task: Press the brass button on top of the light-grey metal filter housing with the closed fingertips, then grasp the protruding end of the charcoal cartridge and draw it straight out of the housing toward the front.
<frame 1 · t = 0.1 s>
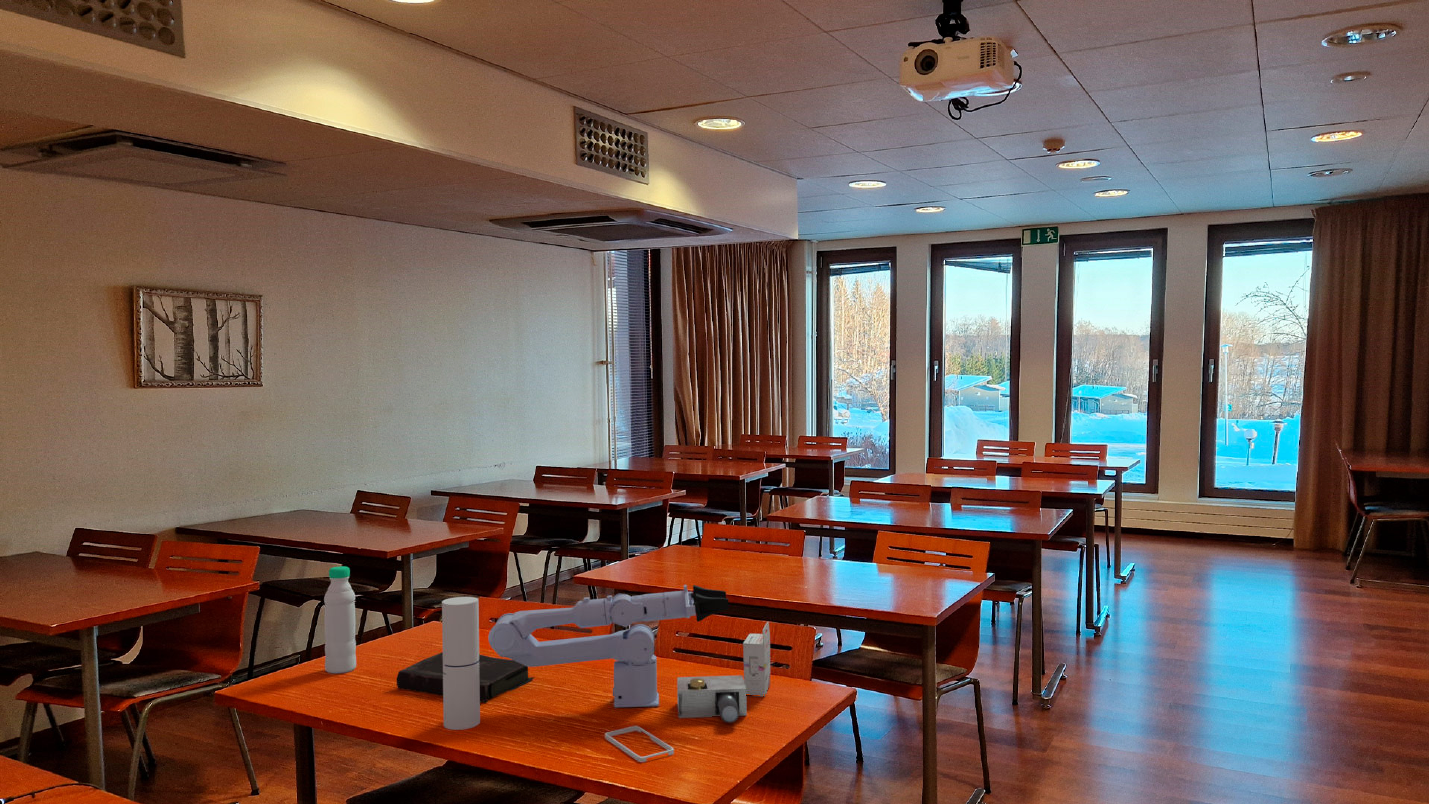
hand: (727, 599, 203), 22 cm above the table, tool horizontal, fingers open, 7 cm apart
diary: (467, 687, 216), on the table
water bottle: (340, 670, 227), on the table
cartridge: (727, 703, 192), point 3 cm above the table, slide at 0.0 cm
cylindrical container: (461, 724, 190), on the table
housing: (711, 709, 197), on the table
ink cartridge box: (757, 691, 209), on the table
phone case: (638, 749, 177), on the table
plunger: (697, 684, 195), point 6 cm above the table, slide at 0.0 cm
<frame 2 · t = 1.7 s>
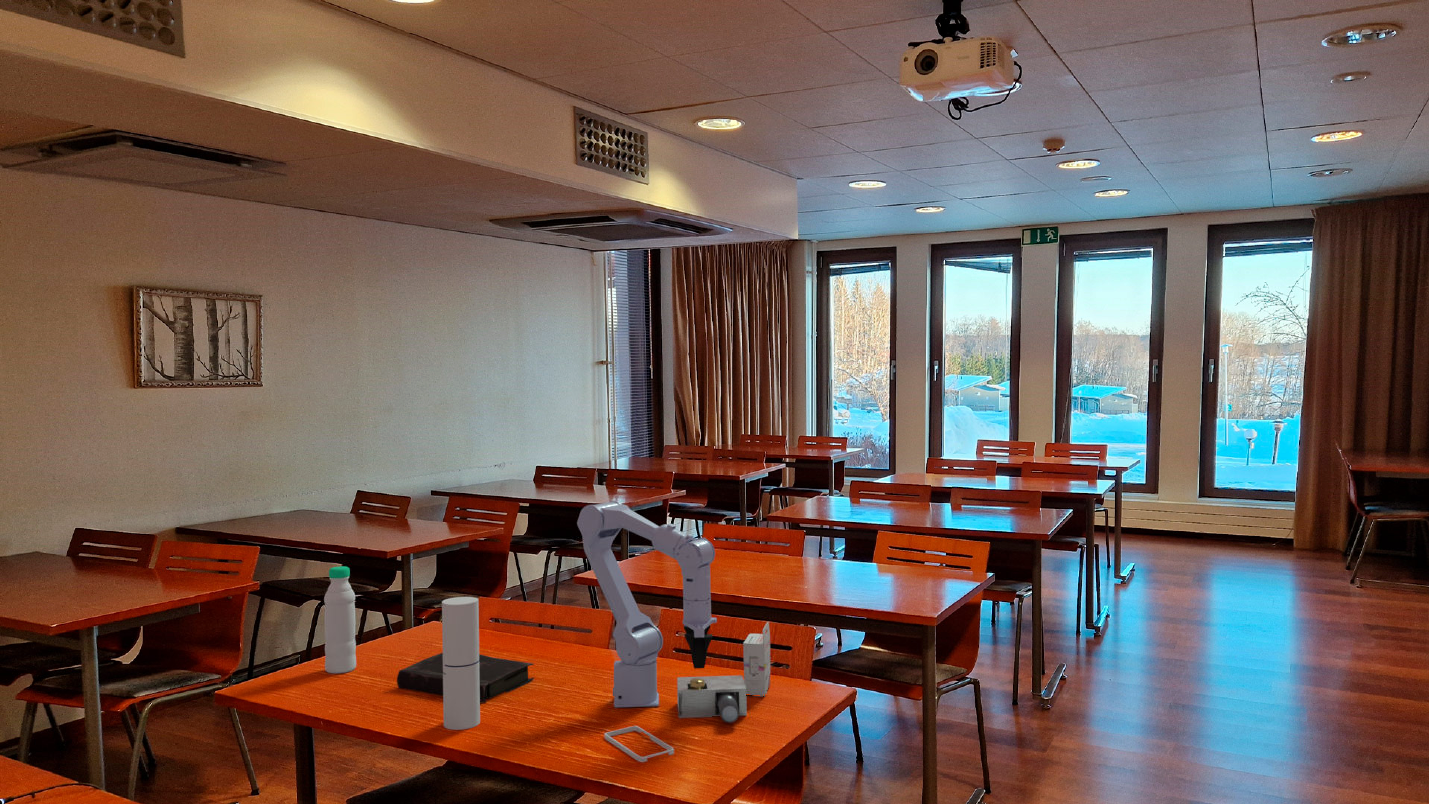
hand: (698, 663, 194), 10 cm above the table, tool pointing down, fingers open, 6 cm apart
nothing on the table moved.
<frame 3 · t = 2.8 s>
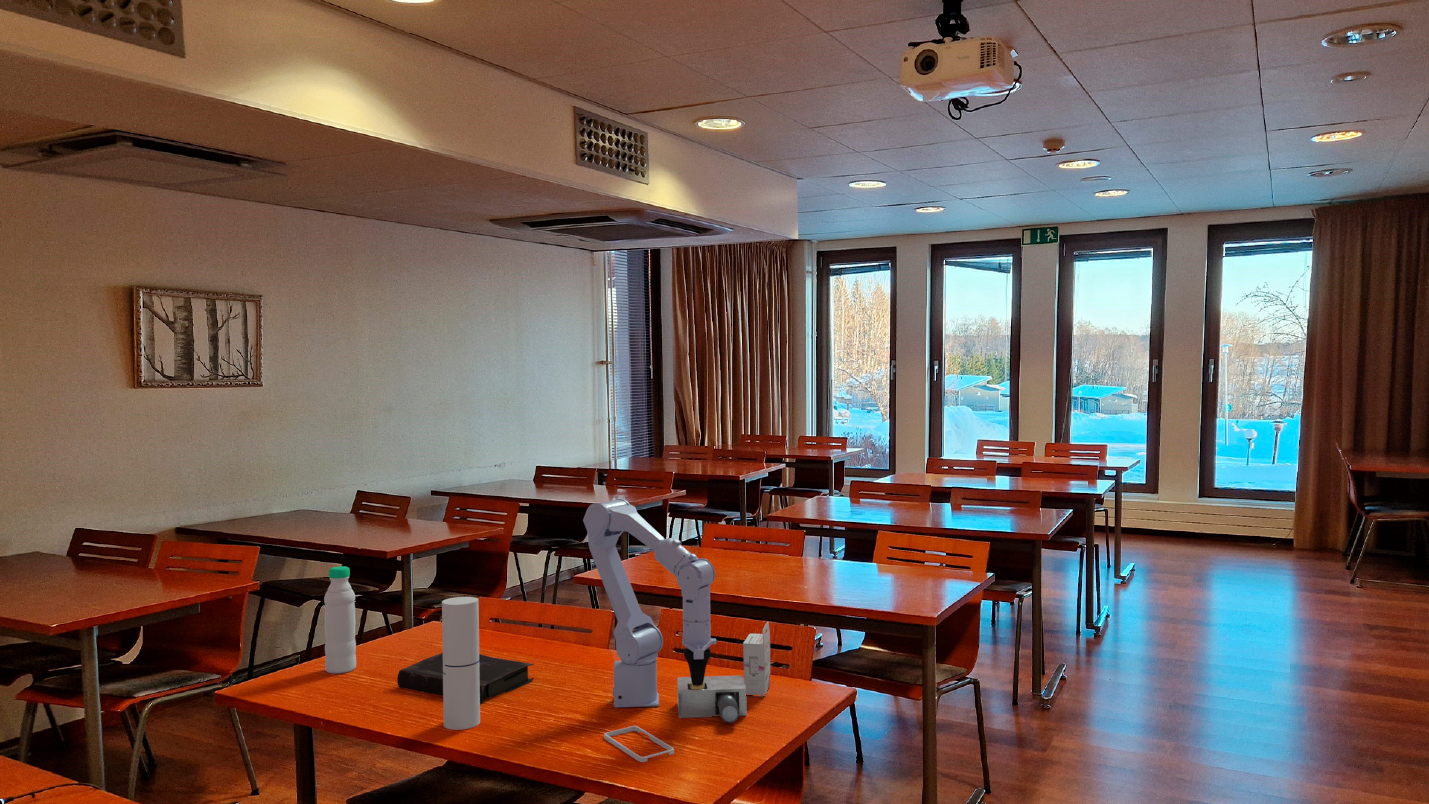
hand: (697, 684, 194), 6 cm above the table, tool pointing down, fingers closed, pressing on plunger
plunger: (697, 688, 195), point 5 cm above the table, slide at 0.7 cm, touching gripper
everything else where it was.
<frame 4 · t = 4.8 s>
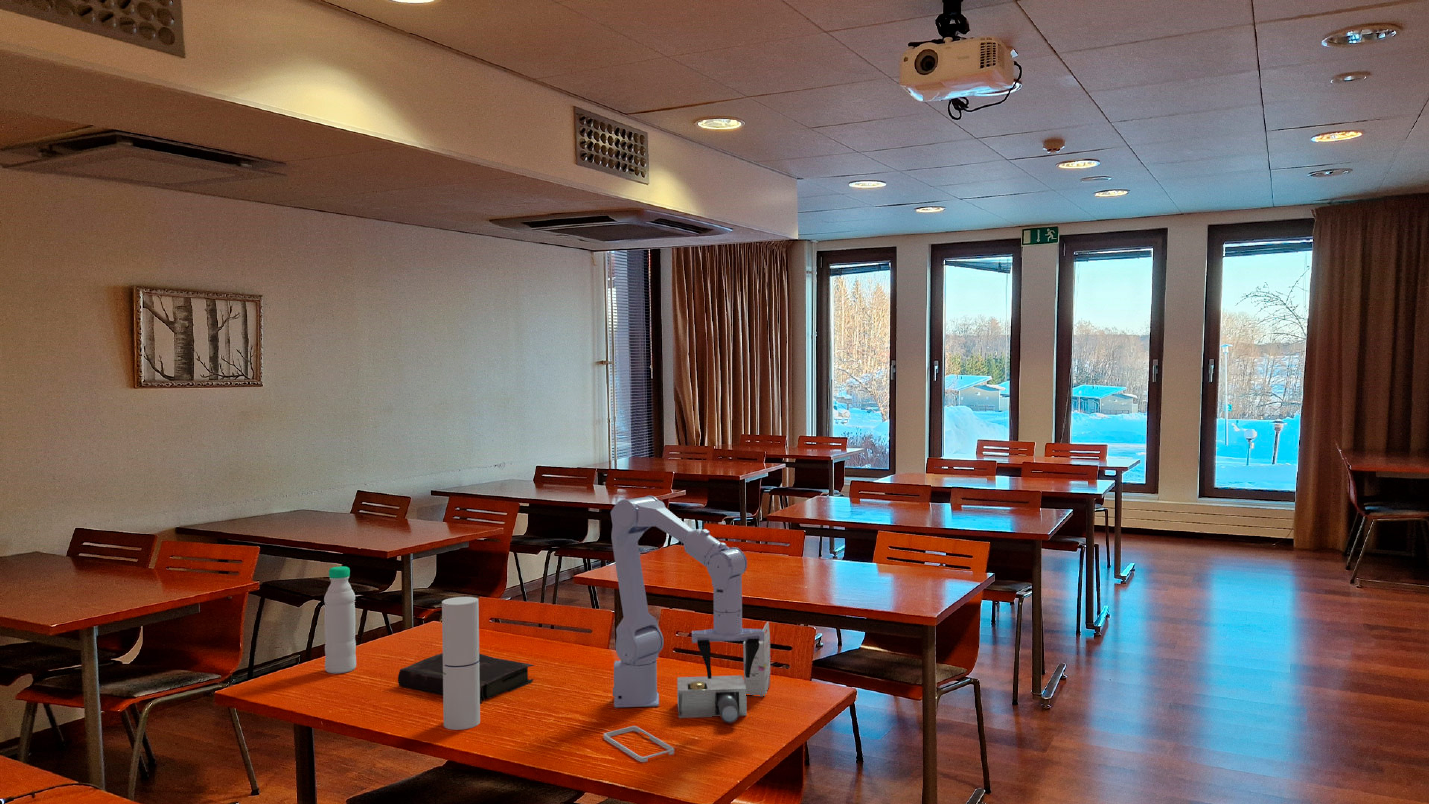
hand: (728, 676, 188), 9 cm above the table, tool pointing down, fingers open, 7 cm apart
plunger: (697, 687, 195), point 5 cm above the table, slide at 0.6 cm
everything else where it was.
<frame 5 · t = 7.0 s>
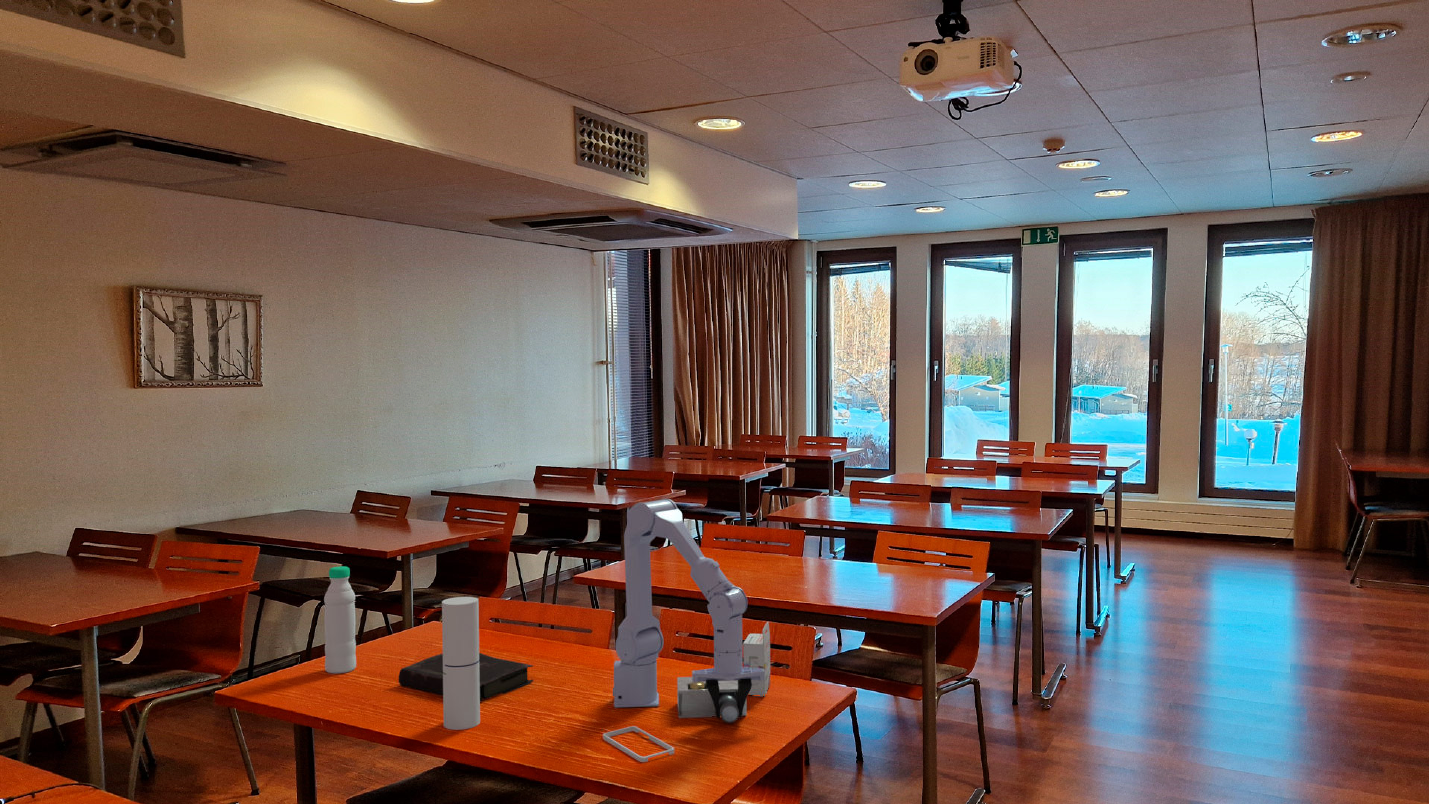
hand: (728, 716, 188), 1 cm above the table, tool pointing down, fingers closed on cartridge, 4 cm apart
cartridge: (727, 703, 192), point 3 cm above the table, slide at 0.0 cm, touching gripper
everything else where it was.
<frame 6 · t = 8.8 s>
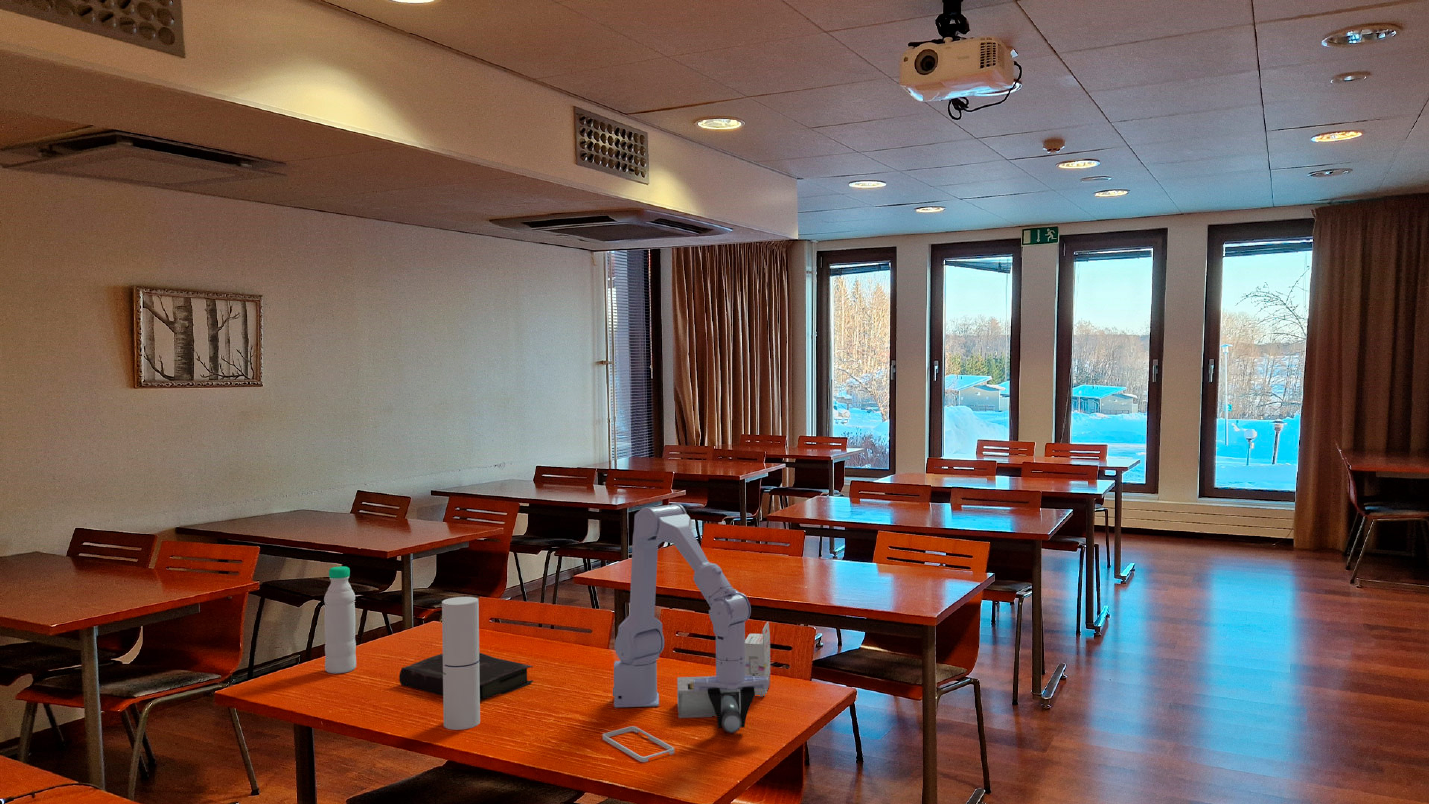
hand: (731, 726, 183), 1 cm above the table, tool pointing down, fingers closed on cartridge, 4 cm apart
cartridge: (729, 712, 187), point 3 cm above the table, slide at 5.5 cm, touching gripper
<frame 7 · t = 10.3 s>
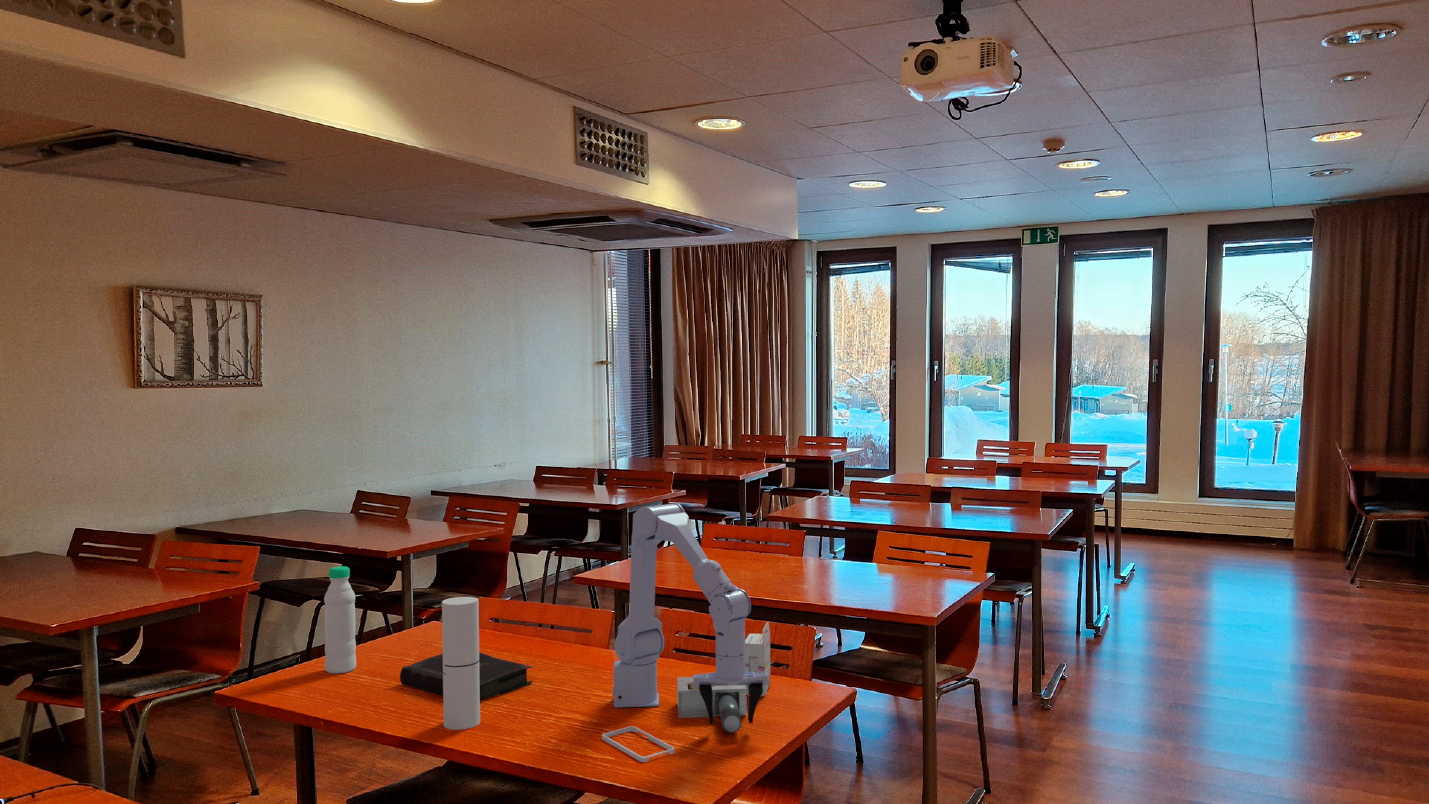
hand: (730, 722, 183), 2 cm above the table, tool pointing down, fingers open, 7 cm apart
cartridge: (729, 712, 187), point 3 cm above the table, slide at 5.5 cm
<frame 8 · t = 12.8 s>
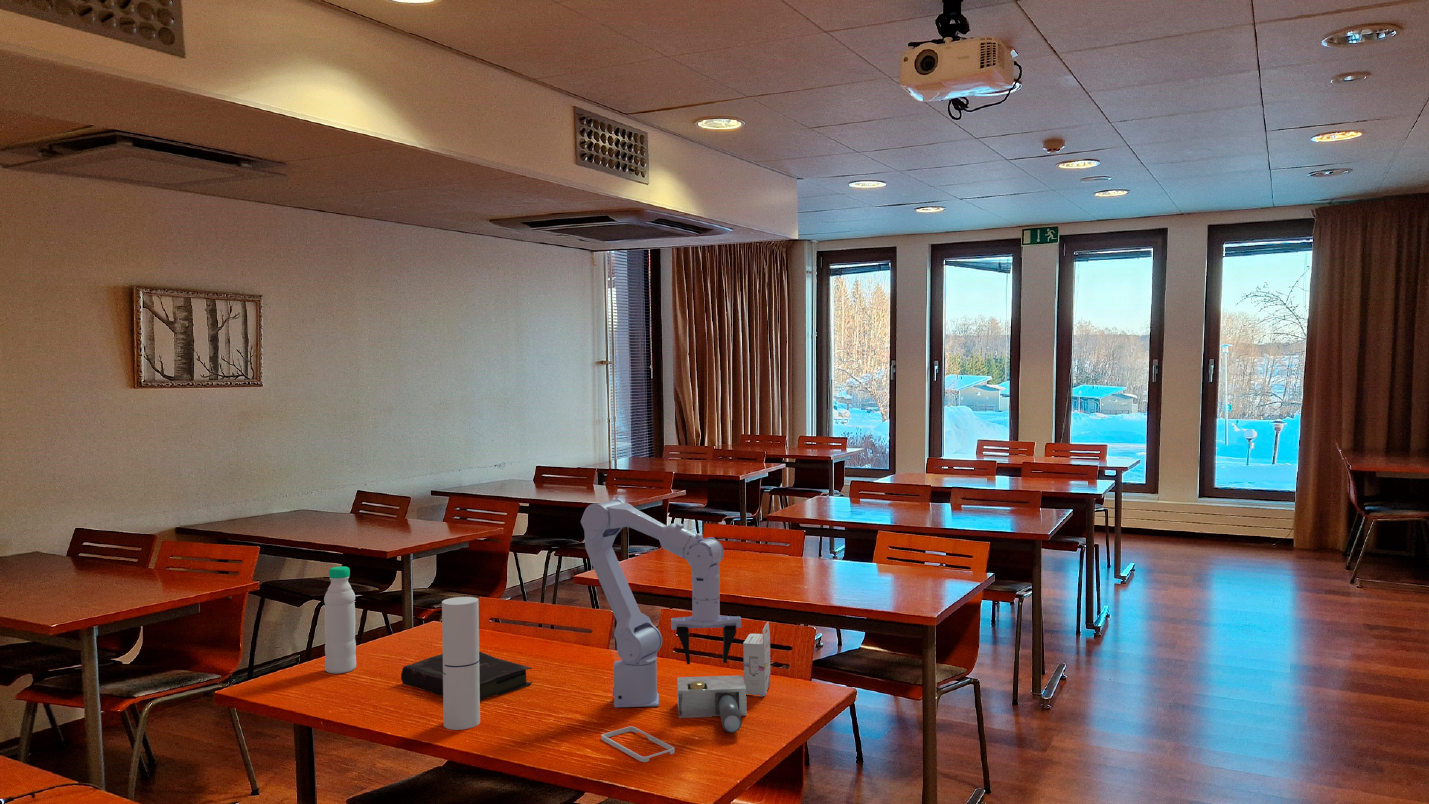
hand: (706, 662, 195), 10 cm above the table, tool pointing down, fingers open, 7 cm apart
at the end: cartridge slide at 5.5 cm; the gripper is holding nothing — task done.
